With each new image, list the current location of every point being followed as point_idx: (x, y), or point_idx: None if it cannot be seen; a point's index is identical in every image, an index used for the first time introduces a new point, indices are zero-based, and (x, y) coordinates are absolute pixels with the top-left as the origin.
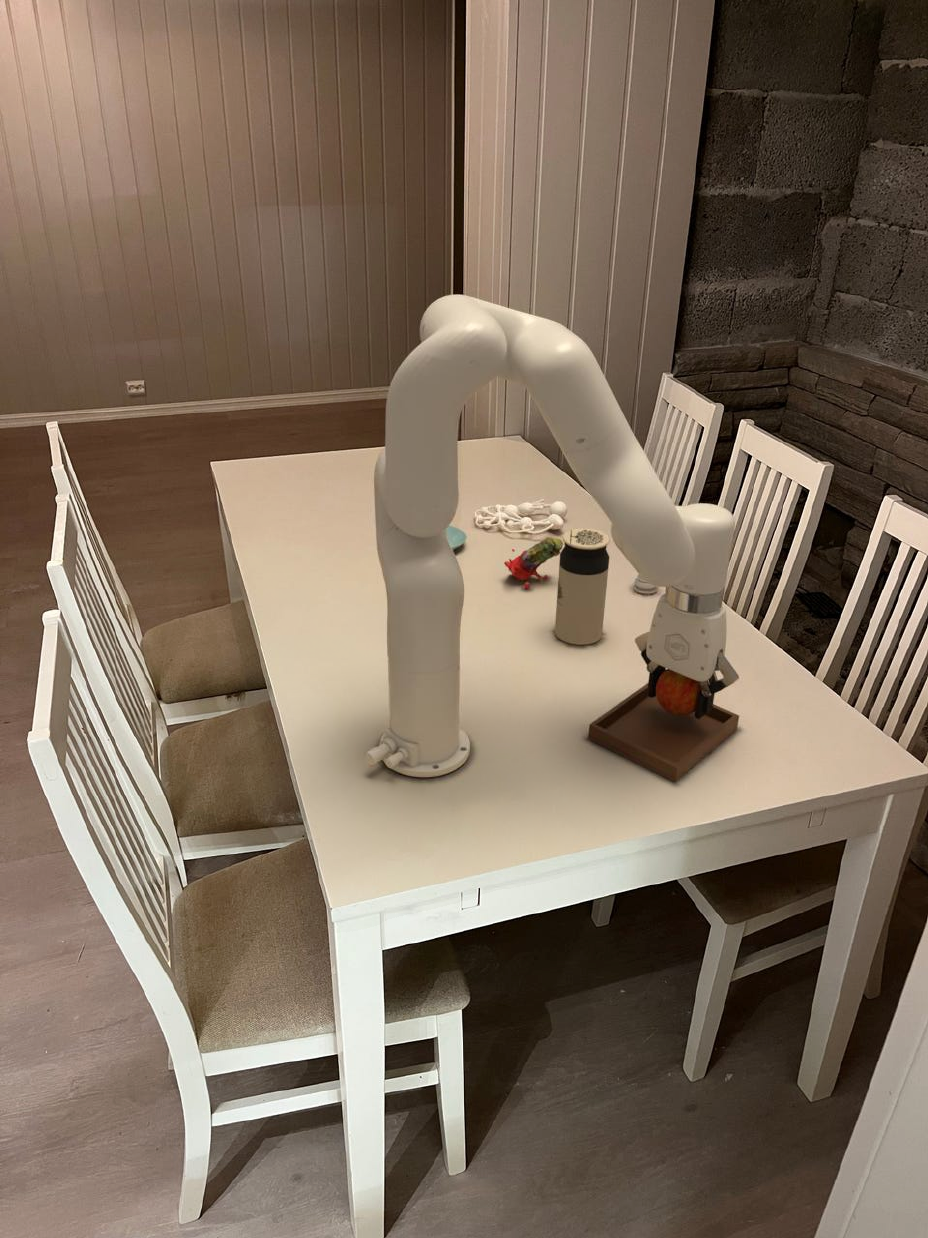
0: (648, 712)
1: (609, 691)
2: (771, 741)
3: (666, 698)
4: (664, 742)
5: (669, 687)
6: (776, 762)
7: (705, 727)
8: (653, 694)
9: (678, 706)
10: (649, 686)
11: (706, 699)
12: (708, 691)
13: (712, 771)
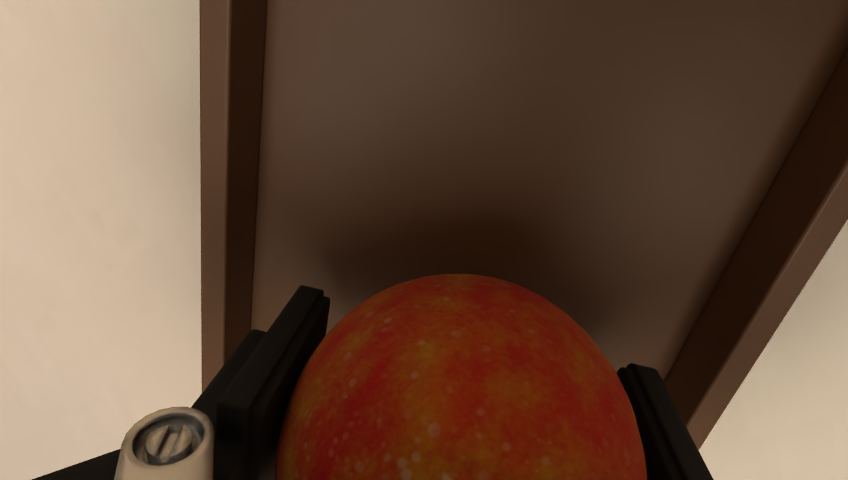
0: (609, 308)
1: (836, 396)
2: (106, 349)
3: (513, 316)
4: (452, 99)
5: (512, 409)
6: (16, 235)
7: (329, 314)
8: (627, 383)
9: (410, 292)
10: (683, 424)
11: (216, 400)
12: (126, 456)
13: (162, 14)
